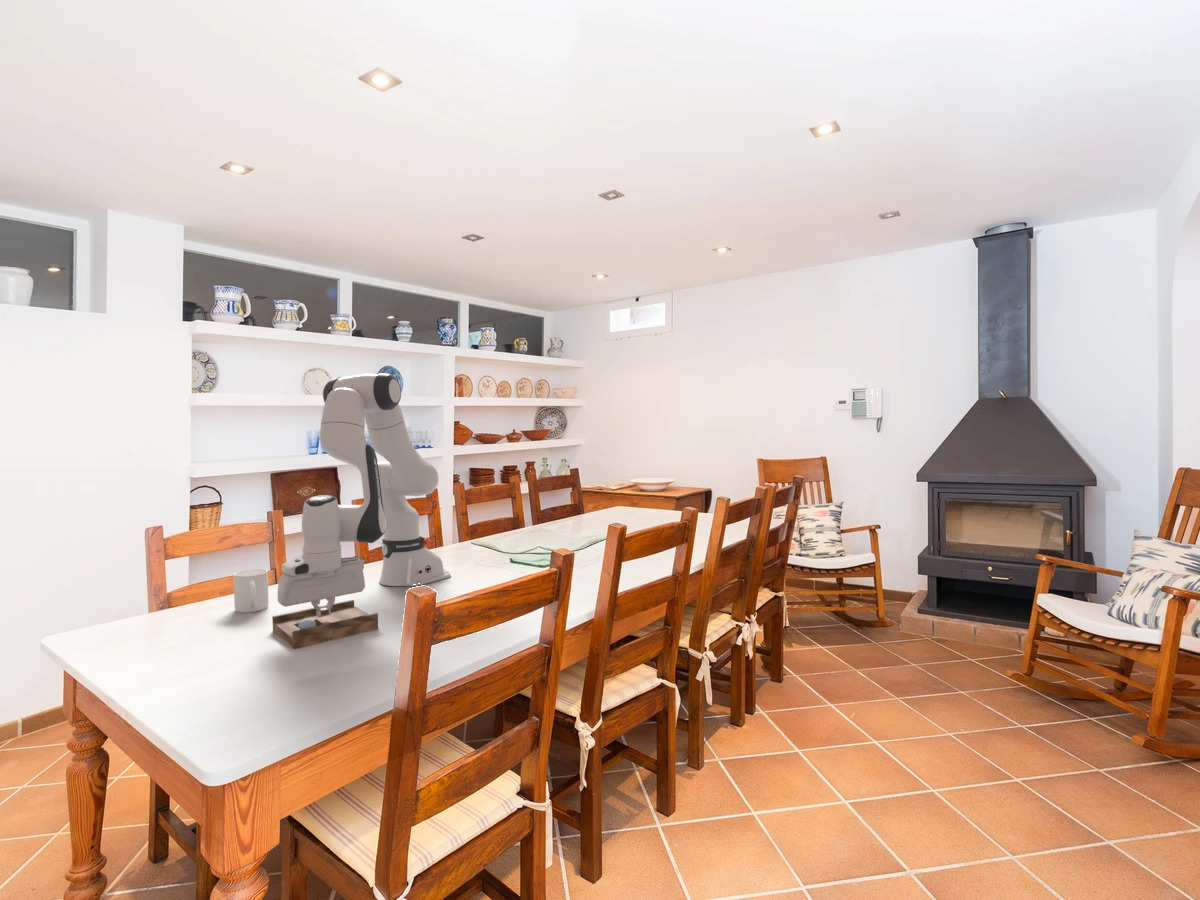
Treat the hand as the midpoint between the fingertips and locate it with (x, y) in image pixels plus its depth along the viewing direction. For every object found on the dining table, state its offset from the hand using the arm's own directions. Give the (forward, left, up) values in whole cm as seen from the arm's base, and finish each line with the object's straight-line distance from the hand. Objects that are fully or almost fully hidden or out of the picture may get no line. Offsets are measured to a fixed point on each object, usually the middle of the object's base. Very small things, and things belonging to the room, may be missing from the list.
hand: (323, 616), depth 154 cm
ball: (+5, 0, -4) cm, 6 cm away
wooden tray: (-1, 0, -4) cm, 4 cm away
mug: (+8, -30, -4) cm, 31 cm away
